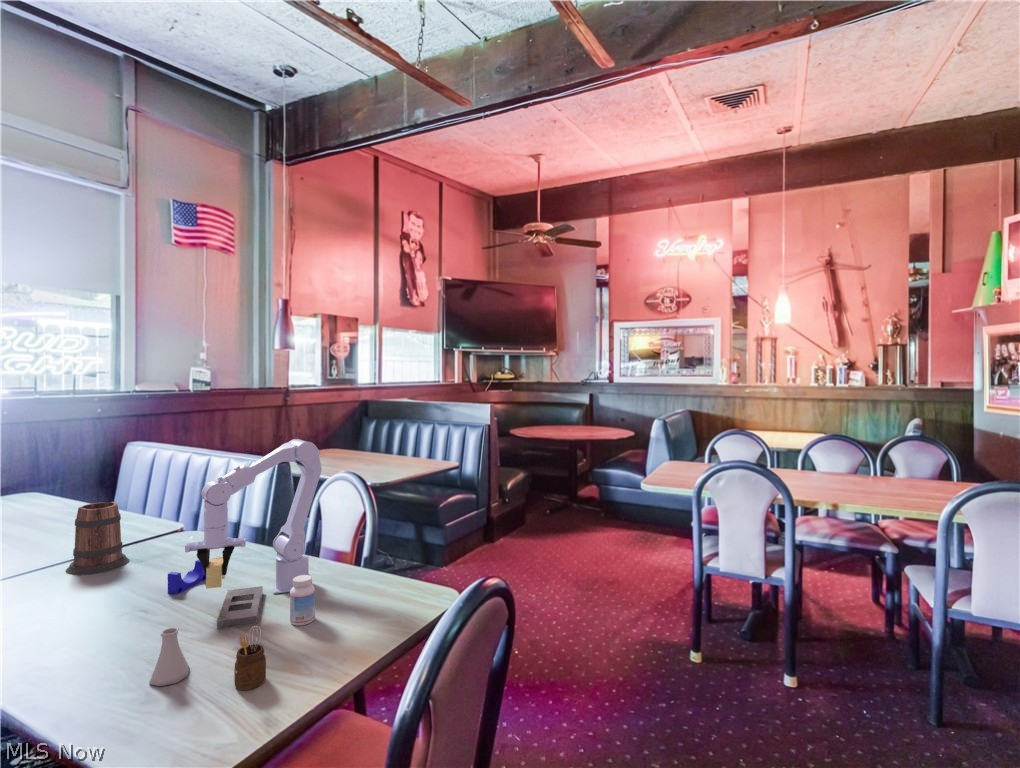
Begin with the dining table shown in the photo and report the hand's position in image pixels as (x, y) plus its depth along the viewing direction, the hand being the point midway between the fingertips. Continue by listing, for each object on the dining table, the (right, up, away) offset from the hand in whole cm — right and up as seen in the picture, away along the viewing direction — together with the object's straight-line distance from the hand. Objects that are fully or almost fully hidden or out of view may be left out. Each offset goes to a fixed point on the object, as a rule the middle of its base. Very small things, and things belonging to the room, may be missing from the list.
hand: (216, 574), depth 147 cm
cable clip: (-17, -9, +14) cm, 24 cm away
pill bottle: (+27, -10, -7) cm, 29 cm away
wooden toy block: (0, -2, 0) cm, 2 cm away
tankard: (-58, -8, +31) cm, 66 cm away
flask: (+9, -10, -33) cm, 36 cm away
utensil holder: (+26, -10, -35) cm, 45 cm away
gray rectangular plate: (+8, -9, -2) cm, 12 cm away
